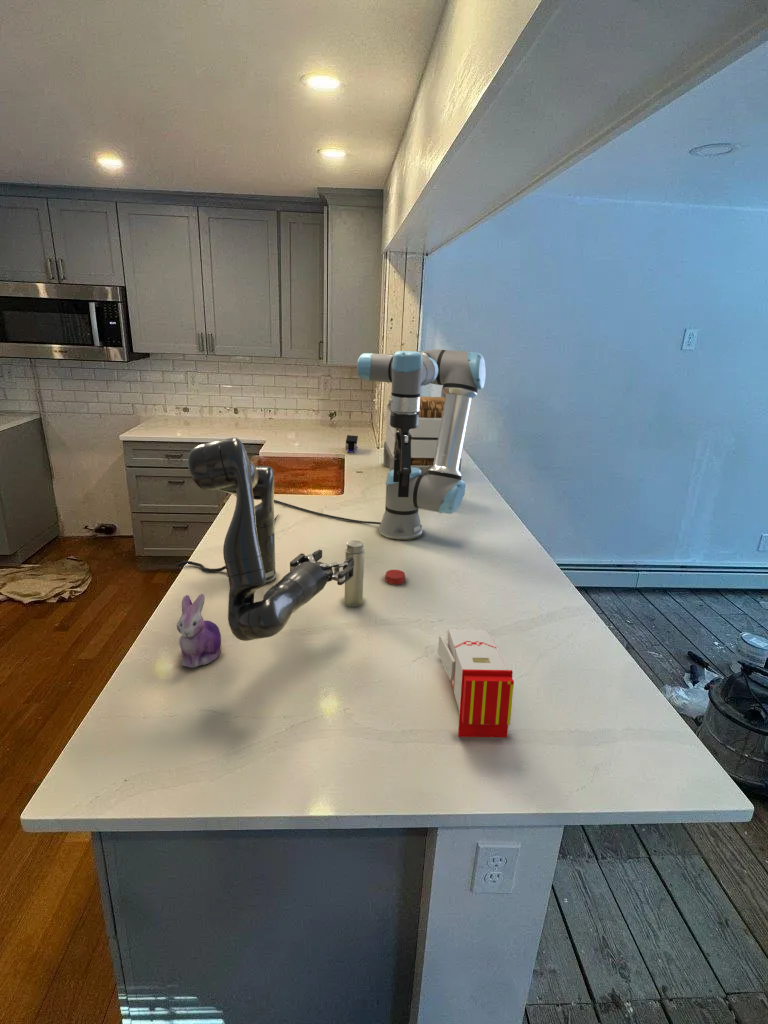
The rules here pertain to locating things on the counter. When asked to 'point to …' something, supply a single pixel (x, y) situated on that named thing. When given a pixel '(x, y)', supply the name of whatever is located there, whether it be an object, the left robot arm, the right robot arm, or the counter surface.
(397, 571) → the lid
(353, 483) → the counter surface
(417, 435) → the white wooden crate
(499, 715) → the toy
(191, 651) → the figurine
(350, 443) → the figurine character
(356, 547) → the jar
